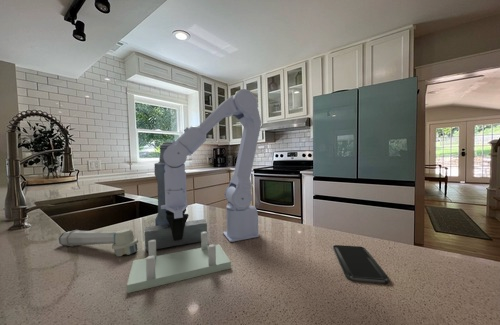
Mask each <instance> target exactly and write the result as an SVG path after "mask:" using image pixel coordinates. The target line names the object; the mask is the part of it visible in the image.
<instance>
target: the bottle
mask: <svg viewBox="0 0 500 325" xmlns="http://www.w3.org/2000/svg"><path fill="white" fill-rule="evenodd" d="M170 145H173V144H172V141H171V142H170V141H169V142H167V141H166V142H164V141H163V142H162V144H160V145H159V150H160V151H159V152H160V153H159V161H158V162H155V163H153V164H154V167H153V168H154V172H153V173H154V177H155V179H156V183H157V214H156V216H155V220H154V223H155V225H154V226H158V225H165V224H169V222H168V221H167V219H166V215H167V214H166V209H161V205H165V180H164V173H165V169H164V167H165V164H166V163H165V161H164V158H163V154H164V151H165V150H166V149H167V147H168V146H170ZM183 164H185V163H183Z"/></svg>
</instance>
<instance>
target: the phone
mask: <svg viewBox="0 0 500 325" xmlns="http://www.w3.org/2000/svg"><path fill="white" fill-rule="evenodd" d="M332 250H333V252H334V254H335V256H336V259H337V262H338V263H339V265H340V267H341V270H342V272H343V274H344V276H345V278H346V279H347V280H348V281H351V282H357V283H366V284H367V283H369V284H375V285H376V284H379V285H389V284H390V277H389V276H388V275H387V274H386V273H385V271H384V270H383V268H381V266H380V264H378V263H377V261H376V260H375V259H374V257H373V256H372V255H371V254H370V252H369V250H367V248H365V247H363V246H359V245H357V246H356V245H343V244H342V245H341V244H334V245H333V249H332Z"/></svg>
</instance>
